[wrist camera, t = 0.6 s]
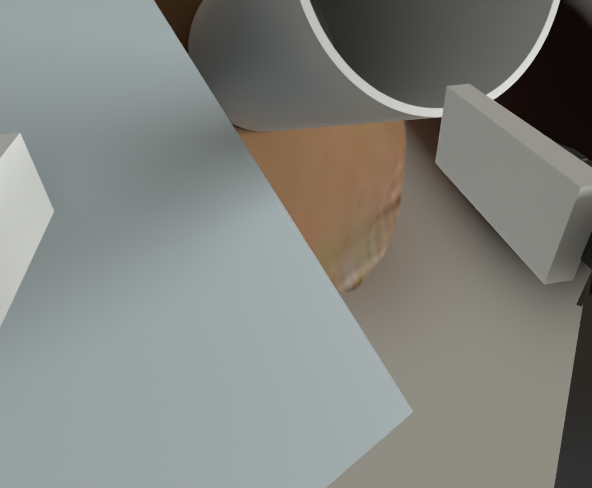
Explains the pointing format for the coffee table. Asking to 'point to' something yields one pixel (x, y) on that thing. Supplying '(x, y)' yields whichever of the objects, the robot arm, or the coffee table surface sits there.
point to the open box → (164, 281)
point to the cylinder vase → (359, 56)
